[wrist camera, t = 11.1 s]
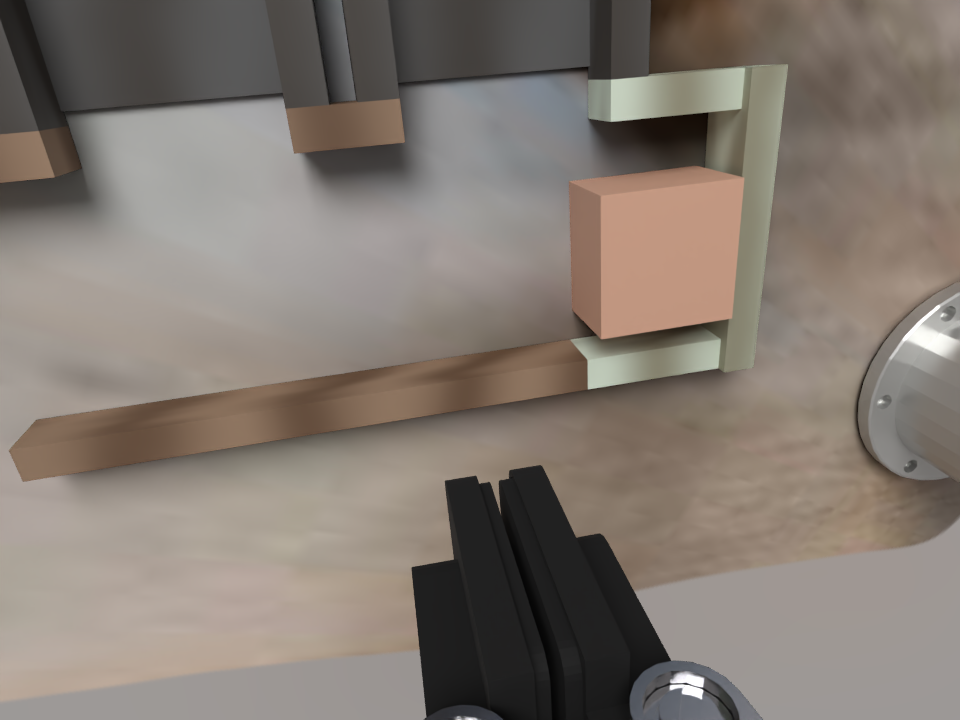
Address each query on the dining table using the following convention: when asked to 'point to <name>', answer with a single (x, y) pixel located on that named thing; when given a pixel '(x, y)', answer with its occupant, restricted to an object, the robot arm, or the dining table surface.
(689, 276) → the block
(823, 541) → the dining table surface
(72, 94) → the trap lane
